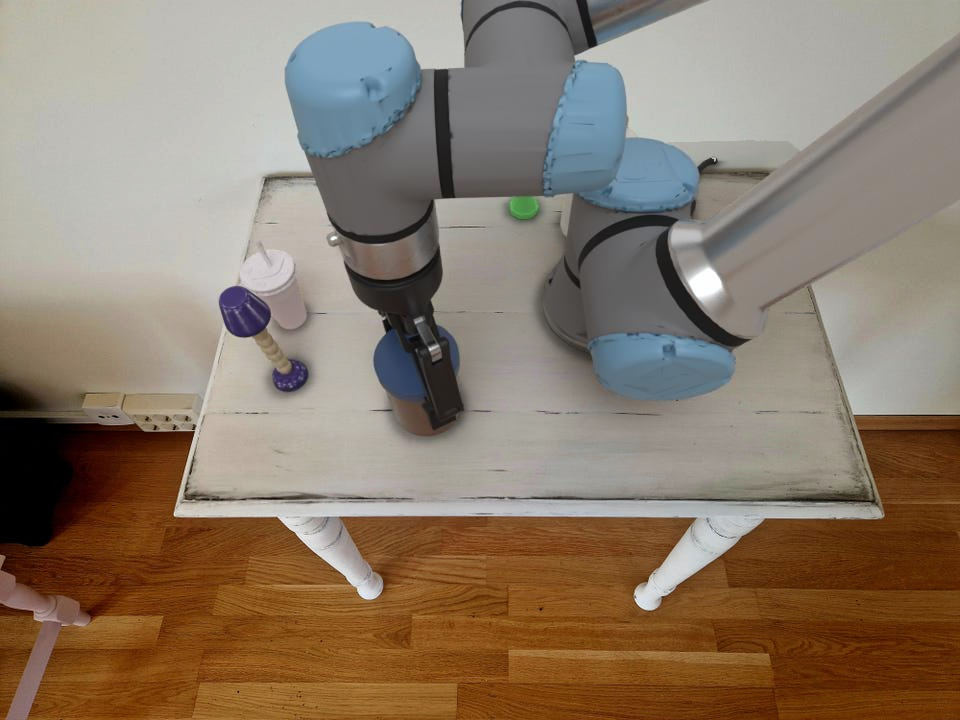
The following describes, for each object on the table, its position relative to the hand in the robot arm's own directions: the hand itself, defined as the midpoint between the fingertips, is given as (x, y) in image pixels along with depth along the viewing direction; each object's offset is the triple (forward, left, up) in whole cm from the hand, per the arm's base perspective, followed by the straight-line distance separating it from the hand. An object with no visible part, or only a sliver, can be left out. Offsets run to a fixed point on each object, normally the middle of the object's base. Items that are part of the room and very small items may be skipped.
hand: (422, 385), depth 63 cm
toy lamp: (+13, -11, -5) cm, 18 cm away
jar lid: (0, 0, +6) cm, 6 cm away
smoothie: (+10, -20, -5) cm, 23 cm away
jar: (0, 0, -5) cm, 5 cm away
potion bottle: (-32, -14, -5) cm, 35 cm away
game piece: (-26, -22, -5) cm, 34 cm away
